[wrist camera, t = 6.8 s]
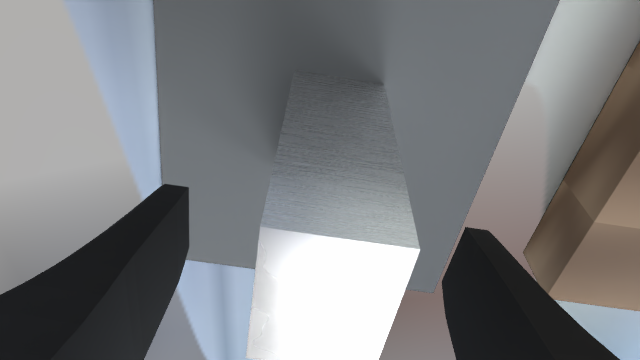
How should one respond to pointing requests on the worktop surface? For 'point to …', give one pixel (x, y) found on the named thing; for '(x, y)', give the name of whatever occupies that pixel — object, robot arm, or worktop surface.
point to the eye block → (597, 210)
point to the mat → (343, 61)
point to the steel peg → (332, 227)
